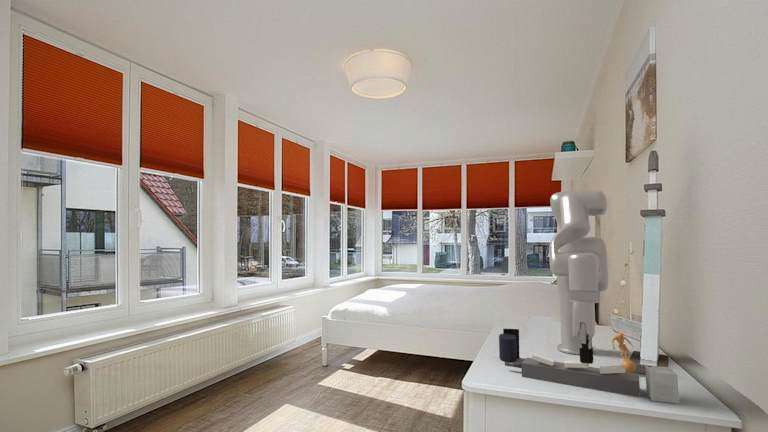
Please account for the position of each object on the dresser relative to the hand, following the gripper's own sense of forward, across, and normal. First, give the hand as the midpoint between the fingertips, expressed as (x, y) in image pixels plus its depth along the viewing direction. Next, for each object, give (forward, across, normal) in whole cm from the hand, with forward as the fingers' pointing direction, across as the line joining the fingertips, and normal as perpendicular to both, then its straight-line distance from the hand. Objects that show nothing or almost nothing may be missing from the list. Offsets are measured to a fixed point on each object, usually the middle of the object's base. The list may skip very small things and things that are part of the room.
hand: (586, 362), depth 112 cm
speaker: (+7, -14, -26) cm, 30 cm away
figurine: (+7, -20, +8) cm, 23 cm away
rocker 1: (+1, -1, -12) cm, 12 cm away
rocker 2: (+1, -1, -3) cm, 3 cm away
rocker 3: (+1, 0, +6) cm, 6 cm away
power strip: (+7, -2, -6) cm, 9 cm away
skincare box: (+7, -1, +17) cm, 19 cm away
